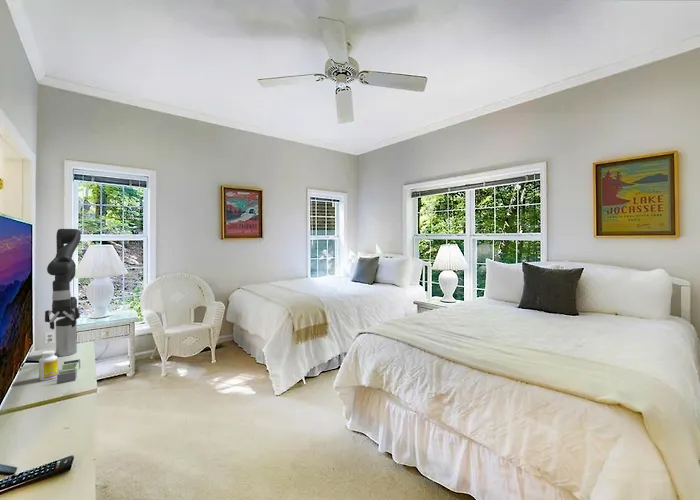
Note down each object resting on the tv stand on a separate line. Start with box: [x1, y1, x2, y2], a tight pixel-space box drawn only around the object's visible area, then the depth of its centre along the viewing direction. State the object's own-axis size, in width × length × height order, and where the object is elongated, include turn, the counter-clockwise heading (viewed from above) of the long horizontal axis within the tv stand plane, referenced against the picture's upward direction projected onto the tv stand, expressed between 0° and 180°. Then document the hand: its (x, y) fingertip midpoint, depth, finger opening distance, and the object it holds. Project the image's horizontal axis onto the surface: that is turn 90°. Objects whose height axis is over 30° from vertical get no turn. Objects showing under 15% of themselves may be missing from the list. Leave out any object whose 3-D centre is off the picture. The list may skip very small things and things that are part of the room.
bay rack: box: [56, 359, 81, 384], centre depth 163 cm, size 20×6×4 cm, turn 34°
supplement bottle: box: [38, 349, 59, 381], centre depth 159 cm, size 7×7×13 cm
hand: (63, 328), depth 180 cm, fingers open, 8 cm apart
